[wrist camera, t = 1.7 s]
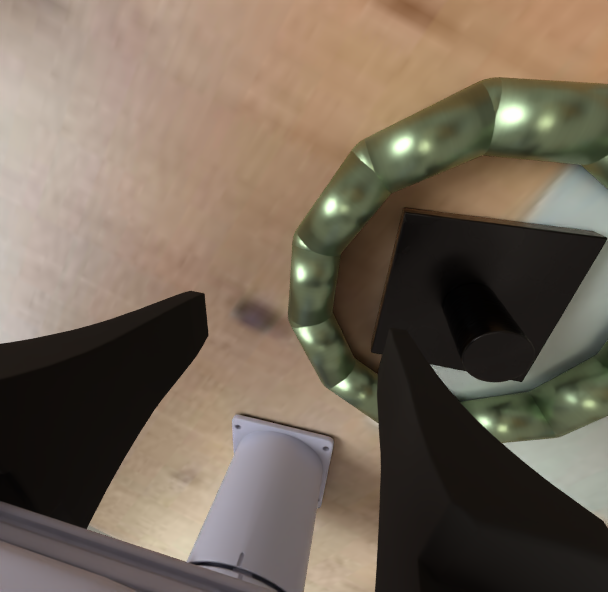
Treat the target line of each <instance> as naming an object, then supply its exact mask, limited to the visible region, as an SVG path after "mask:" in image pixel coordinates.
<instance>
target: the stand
mask: <svg viewBox="0 0 608 592" xmlns="http://www.w3.org/2000/svg"><path fill="white" fill-rule="evenodd" d="M606 240H607V238H606V237H604V236H602V235H600V234H598V233H596V232H593V231H587V230H579V229H571V228H563V227H555V226H547V225H539V224H531V223H523V222H515V221H507V220H499V219H491V218H483V217H475V216H467V215H459V214H451V213H443V212H435V211H427V210H419V209H411V208H404V209H403V212H402V216H401V220H400V224H399V229H398V233H397V237H396V241H395V245H394V250H393V254H392V258H391V262H390V266H389V271H388V275H387V279H386V283H385V287H384V292H383V296H382V300H381V304H380V308H379V313H378V317H377V321H376V325H375V329H374V334H373V338H372V342H371V352H372V353H376V354H381V355H382V354H383V351H384V347H385V343H386V340H387V336H388V332H389V328H396V329H401V330H406V331H408V333H409V334H410V336H411V337H412V339H413V340H414V342H415V343H416V345H417V346H418V348H419V350H420V351H421V353H422V354H423V356H424V357H425V359H426V360H427V361H428V363H429V364H432V365H437V366H442V367H447V368H453V369H458V370H463V371H467V372H468V373H469V374H470V375H472V376H473V377H475V378H477V379H479V380H482V381H487V382H504V381H508V380H513V381H519V382H522V381H523V380H524V378H525V376H526V375H527V373H528V371H529V370H530V368H531V366H532V365H533V363H534V361H535V360H536V358H537V356H538V354H539V353H540V351H541V349H542V348H543V346H544V344H545V343H546V341H547V339H548V338H549V336H550V334H551V333H552V331H553V329H554V328H555V326H556V324H557V323H558V321H559V319H560V318H561V316H562V314H563V313H564V311H565V309H566V308H567V306H568V304H569V302H570V301H571V299H572V297H573V296H574V294H575V292H576V291H577V289H578V287H579V286H580V284H581V282H582V281H583V279H584V277H585V276H586V274H587V272H588V271H589V269H590V267H591V266H592V264H593V262H594V261H595V259H596V257H597V256H598V254H599V252H600V251H601V249H602V247H603V245H604V244H605V242H606Z"/></svg>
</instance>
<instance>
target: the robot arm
mask: <svg viewBox="0 0 608 592" xmlns="http://www.w3.org/2000/svg"><path fill="white" fill-rule="evenodd" d="M207 337H208V325H207V315H206V305H205V294H204V293H199V292H194V291H188V292H184V293H181V294H178V295H176V296H173V297H170V298H167V299H165V300H162V301H160V302H157V303H154V304H152V305H149V306H147V307H144V308H141V309H139V310H136V311H133V312H130V313H127V314H124V315H121V316H119V317H116V318H113V319H110V320H107V321H103V322H100V323H97V324H93V325H90V326H86V327H82V328H79V329H75V330H71V331H66V332H62V333H57V334H52V335H48V336H43V337H38V338H33V339H28V340H22V341H16V342H10V343H3V344H0V592H304V586H305V580H306V574H307V567H308V561H309V555H310V549H311V543H312V536H313V530H314V524H315V518H316V511H317V508H320V507H321V504H322V499H323V494H324V489H325V484H326V479H327V475H328V470H329V465H330V460H331V455H332V450H333V445H334V440H333V439H332V438H331V437H329V436H325V435H321V434H317V433H313V432H309V431H305V430H300V429H296V428H292V427H288V426H284V425H280V424H276V423H272V422H267V421H263V420H259V419H255V418H251V417H247V416H243V415H235V416H234V417H233V419H232V428H233V445H234V456H233V459H232V461H231V463H230V465H229V468H228V470H227V472H226V474H225V477H224V479H223V481H222V483H221V486H220V488H219V490H218V492H217V495H216V497H215V499H214V501H213V503H212V506H211V508H210V510H209V512H208V515H207V517H206V519H205V521H204V524H203V526H202V528H201V530H200V533H199V535H198V537H197V539H196V542H195V544H194V546H193V548H192V551H191V553H190V555H189V557H188V560H187V562H185V561H182V560H179V559H176V558H173V557H170V556H167V555H164V554H161V553H158V552H154V551H151V550H148V549H145V548H142V547H139V546H136V545H133V544H130V543H127V542H124V541H121V540H118V539H115V538H112V537H108V536H106V535H102V534H99V533H96V532H93V531H90V530H87V527H88V525H89V523H90V521H91V519H92V517H93V515H94V513H95V511H96V509H97V507H98V506H99V504H100V502H101V500H102V498H103V496H104V494H105V492H106V490H107V488H108V486H109V485H110V483H111V481H112V479H113V477H114V476H115V474H116V472H117V470H118V469H119V467H120V465H121V463H122V461H123V460H124V458H125V456H126V455H127V453H128V451H129V450H130V448H131V446H132V445H133V443H134V441H135V440H136V438H137V436H138V435H139V433H140V431H141V430H142V428H143V427H144V425H145V424H146V422H147V421H148V419H149V417H150V416H151V414H152V413H153V411H154V410H155V408H156V407H157V406H158V404H159V403H160V402H161V400H162V399H163V398H164V396H165V395H166V394H167V393H168V391H169V390H170V389H171V388H172V386H173V385H174V384H175V383H176V381H177V380H178V379H179V378H180V376H181V375H182V374H183V373H184V371H185V370H186V369H187V368H188V366H189V365H190V364H191V362H192V361H193V360H194V359H195V357H196V356H197V354H198V353H199V351H200V349H201V348H202V346H203V344H204V342H205V341H206V339H207ZM377 406H378V421H379V436H380V451H381V483H380V510H379V533H378V551H377V570H376V585H375V592H608V528H607V526H606V525H605V523H604V521H602V520H601V519H599V518H598V517H597V516H595V515H594V514H592V513H591V512H590V511H588V510H587V509H586V508H584V507H583V506H581V505H580V504H579V503H577V502H576V501H574V500H573V499H572V498H570V497H569V496H568V495H566V494H565V493H563V492H562V491H561V490H559V489H558V488H556V487H555V486H554V485H552V484H551V483H550V482H548V481H547V480H546V479H544V478H543V477H542V476H541V475H539V474H538V473H537V472H536V471H534V470H533V469H532V468H531V467H529V466H528V465H527V464H526V463H524V462H523V461H522V460H521V459H520V458H518V457H517V456H516V455H515V454H514V453H512V452H511V451H510V450H509V449H508V448H507V447H505V446H504V445H503V444H502V443H501V442H500V441H499V440H498V439H497V438H496V437H494V436H493V435H492V434H491V433H490V432H489V431H488V430H487V429H486V428H485V427H484V426H483V425H482V424H481V423H479V422H478V421H477V420H476V419H475V418H474V417H473V415H472V414H471V413H470V412H469V411H468V410H467V409H466V408H465V407H464V406H463V405H462V404H461V403H460V402H459V401H458V400H457V398H456V397H455V396H454V395H453V394H452V393H451V391H450V390H449V389H448V388H447V387H446V385H445V384H444V383H443V382H442V380H441V379H440V378H439V377H438V375H437V374H436V373H435V371H434V370H433V368H432V367H431V366H430V364H429V363H428V361H427V360H426V359H425V357H424V356H423V354H422V353H421V351H420V350H419V348H418V346H417V345H416V343H415V342H414V340H413V339H412V337H411V336H410V334H409V333H408V331H406V330H401V329H396V328H389V332H388V336H387V340H386V343H385V347H384V351H383V354H382V358H381V362H380V366H379V369H378V382H377Z"/></svg>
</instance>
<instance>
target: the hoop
mask: <svg viewBox="0 0 608 592" xmlns="http://www.w3.org/2000/svg"><path fill="white" fill-rule="evenodd" d="M482 155H486V156H496V157H506V158H517V159H527V160H537V161H548V162H558V163H568V164H579V165H582V166H583V167H584V168H585V169H586V170H587V171H588V172H589V173H590V174H592V175H593V176H594V177H595V178H596V179H597V180H598V181H599V182H600V183H601V184H602V185H604V186H605V187H606V188H607V189H608V84H599V83H583V82H566V81H550V80H533V79H517V78H500V77H499V78H489V79H485V80H482V81H480V82H477V83H475V84H473V85H471V86H469V87H467V88H465V89H463V90H461V91H459V92H457V93H455V94H453V95H451V96H449V97H447V98H445V99H443V100H441V101H439V102H437V103H435V104H433V105H431V106H429V107H427V108H425V109H423V110H421V111H419V112H417V113H415V114H413V115H411V116H409V117H407V118H405V119H403V120H401V121H399V122H397V123H395V124H393V125H391V126H389V127H387V128H385V129H383V130H381V131H379V132H377V133H375V134H373V135H371V136H369V137H367V138H365V139H364V140H362V141H360V142H359V143H358V144H357V145H356V146H355V147H354V148H353V149H352V151H351V152H350V154H349V155H348V156H347V158H346V159H345V161H344V162H343V164H342V165H341V166H340V168H339V169H338V171H337V172H336V174H335V175H334V176H333V178H332V179H331V181H330V182H329V184H328V185H327V186H326V188H325V189H324V191H323V192H322V194H321V195H320V196H319V198H318V199H317V201H316V202H315V204H314V205H313V206H312V208H311V209H310V211H309V212H308V214H307V215H306V216H305V218H304V219H303V221H302V222H301V224H300V225H299V226H298V228H297V230H296V231H295V233H294V236H293V243H292V259H291V274H290V290H289V306H288V319H289V323H290V325H291V327H292V329H293V331H294V332H295V334H296V336H297V338H298V340H299V342H300V343H301V345H302V347H303V349H304V351H305V353H306V355H307V356H308V358H309V360H310V362H311V364H312V366H313V368H314V369H315V371H316V373H317V375H318V377H319V379H320V380H321V382H322V383H323V385H324V386H325V387H326V388H328V389H329V390H331V391H332V392H334V393H335V394H336V395H338V396H339V397H341V398H342V399H344V400H345V401H347V402H348V403H350V404H351V405H352V406H354V407H355V408H357V409H358V410H360V411H361V412H363V413H364V414H366V415H367V416H369V417H370V418H371V419H373V420H374V421H376V422H377V423H379V421H378V406H377V382H378V374H376V373H375V372H374V371H372V370H371V369H369V368H368V367H367V366H365V365H364V364H362V363H361V362H360V361H358V360H357V359H355V358H354V356H353V354H352V352H351V350H350V348H349V346H348V344H347V342H346V339H345V337H344V335H343V333H342V331H341V329H340V327H339V325H338V322H337V320H336V318H335V316H334V314H333V312H332V311H333V304H334V297H335V290H336V284H337V277H338V270H339V264H340V257H341V253H342V252H343V251H344V249H345V248H346V247H347V246H348V245H349V243H350V242H351V241H352V240H353V239H354V237H355V236H356V235H357V234H358V233H359V232H360V230H361V229H362V228H363V227H364V226H365V224H366V223H367V222H368V221H369V220H370V218H371V217H372V216H373V215H374V214H375V212H376V211H377V210H378V209H379V208H380V206H381V205H382V204H383V203H384V202H385V200H386V199H387V198H388V197H389V196H390V195H391V193H393V192H396V191H398V190H400V189H403V188H405V187H408V186H410V185H412V184H415V183H417V182H420V181H422V180H424V179H427V178H429V177H432V176H434V175H437V174H439V173H441V172H444V171H446V170H449V169H451V168H453V167H456V166H458V165H461V164H463V163H465V162H468V161H470V160H473V159H475V158H477V157H480V156H482ZM460 403H461V404H462V405H463V406H464V407H465V408H466V409H467V410H468V411H469V412H470V413H471V414H472V415H473V417H474V418H475V419H476V420H477V421H478V422H479V423H481V424H482V425H483V426H484V427H485V428H486V429H487V430H488V431H489V432H490V433H491V434H492V435H493V436H494V437H496V438H497V439H498V440H499V441H500V442H501V443H506V442H517V441H527V440H538V439H549V438H557V437H560V436H563V435H565V434H568V433H570V432H572V431H574V430H577V429H579V428H581V427H583V426H586V425H588V424H590V423H592V422H595V421H597V420H599V419H601V418H604V417H606V416H608V340H607V342H606V343H605V344H604V346H603V347H602V349H601V350H600V351H599V353H598V354H597V355H595V356H593V357H592V358H590V359H588V360H586V361H584V362H583V363H581V364H579V365H577V366H575V367H573V368H572V369H570V370H568V371H566V372H564V373H562V374H561V375H559V376H557V377H555V378H553V379H551V380H550V381H548V382H546V383H544V384H542V385H541V386H539V387H537V388H535V389H533V390H531V391H530V392H523V393H517V394H510V395H503V396H496V397H489V398H482V399H475V400H468V401H461V402H460Z"/></svg>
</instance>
